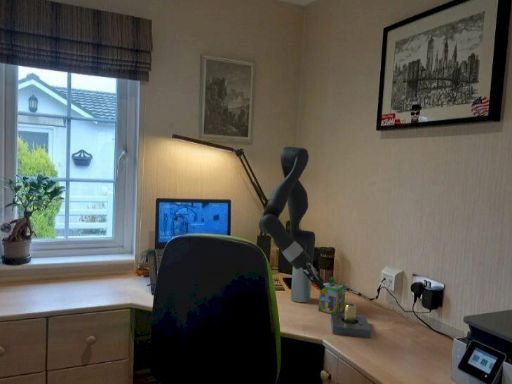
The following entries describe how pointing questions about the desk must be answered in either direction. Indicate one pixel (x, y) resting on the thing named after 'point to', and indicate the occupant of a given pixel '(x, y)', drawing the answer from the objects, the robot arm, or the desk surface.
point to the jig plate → (350, 326)
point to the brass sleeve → (350, 313)
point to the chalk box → (332, 297)
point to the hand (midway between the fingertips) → (322, 285)
